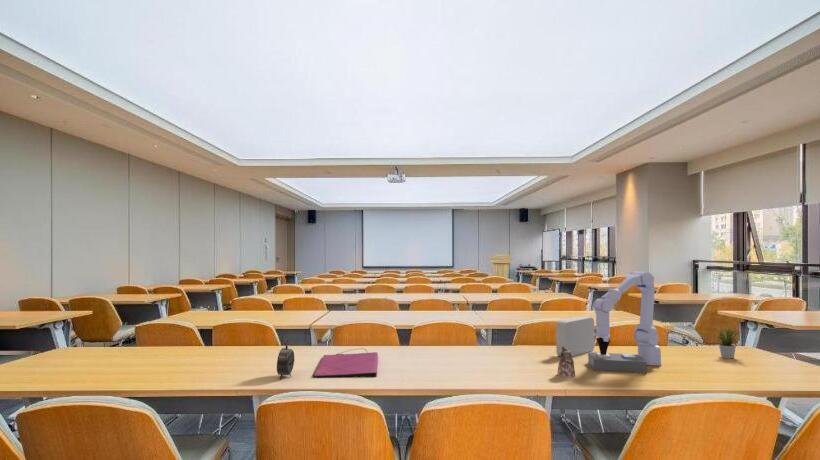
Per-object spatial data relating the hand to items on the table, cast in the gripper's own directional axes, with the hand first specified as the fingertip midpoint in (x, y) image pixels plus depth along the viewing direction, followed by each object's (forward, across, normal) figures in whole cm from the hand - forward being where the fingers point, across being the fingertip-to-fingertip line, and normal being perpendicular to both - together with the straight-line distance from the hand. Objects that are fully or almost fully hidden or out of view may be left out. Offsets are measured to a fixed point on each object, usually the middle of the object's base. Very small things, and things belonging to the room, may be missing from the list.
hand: (603, 354), depth 205 cm
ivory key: (+4, 0, 0) cm, 4 cm away
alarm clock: (+6, +48, -136) cm, 144 cm away
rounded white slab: (+6, -26, -8) cm, 28 cm away
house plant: (+6, -34, +66) cm, 75 cm away
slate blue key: (+5, 0, +11) cm, 12 cm away
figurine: (+6, +18, -18) cm, 27 cm away
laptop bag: (+7, +24, -116) cm, 119 cm away
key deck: (+6, 0, +6) cm, 8 cm away
